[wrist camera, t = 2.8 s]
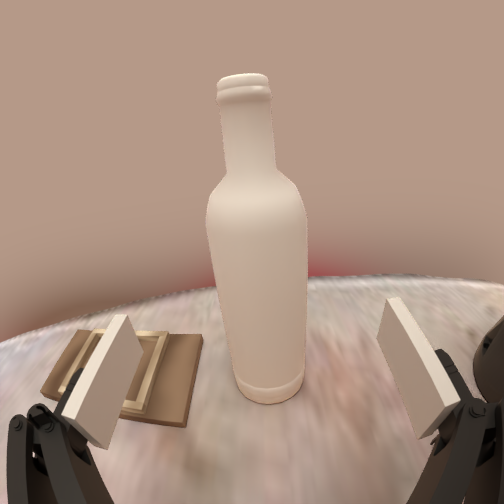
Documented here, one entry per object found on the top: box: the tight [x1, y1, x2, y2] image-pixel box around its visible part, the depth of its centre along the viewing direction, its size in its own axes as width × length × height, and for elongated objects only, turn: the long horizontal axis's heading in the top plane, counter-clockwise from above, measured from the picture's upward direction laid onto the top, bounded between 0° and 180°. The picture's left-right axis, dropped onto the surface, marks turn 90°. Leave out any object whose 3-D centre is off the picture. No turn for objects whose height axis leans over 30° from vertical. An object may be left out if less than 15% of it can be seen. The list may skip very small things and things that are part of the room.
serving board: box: [40, 328, 203, 427], centre depth 30 cm, size 22×14×2 cm, turn 89°
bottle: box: [205, 74, 308, 404], centre depth 23 cm, size 8×8×30 cm
